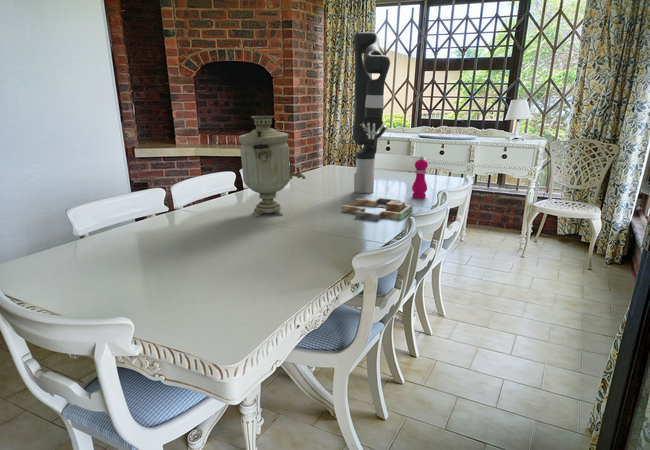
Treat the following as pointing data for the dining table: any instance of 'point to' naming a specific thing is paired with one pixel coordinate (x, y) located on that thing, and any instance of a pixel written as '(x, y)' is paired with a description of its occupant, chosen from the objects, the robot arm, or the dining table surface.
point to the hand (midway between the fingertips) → (371, 147)
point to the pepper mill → (420, 179)
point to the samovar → (266, 163)
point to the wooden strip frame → (377, 203)
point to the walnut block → (395, 206)
